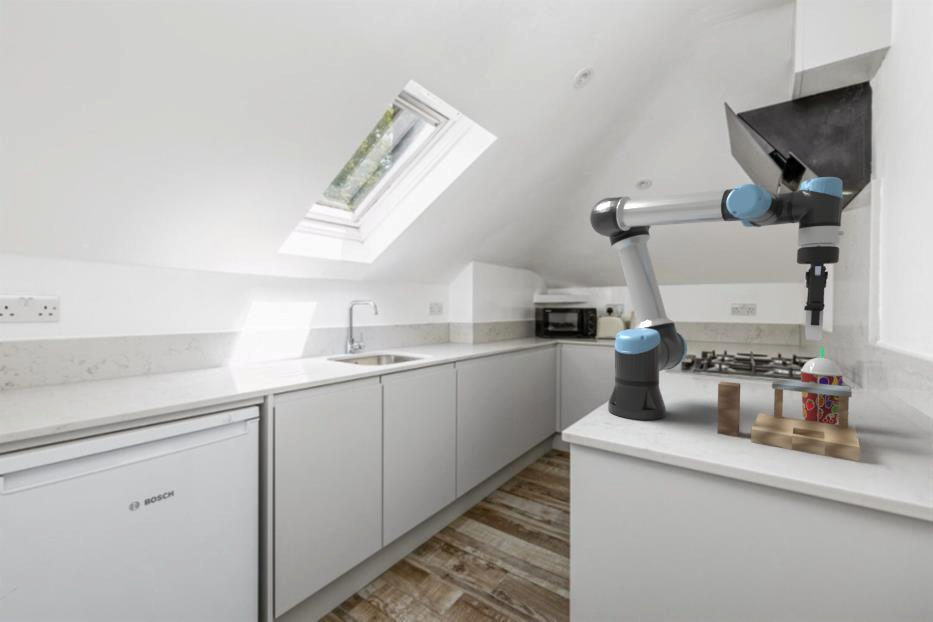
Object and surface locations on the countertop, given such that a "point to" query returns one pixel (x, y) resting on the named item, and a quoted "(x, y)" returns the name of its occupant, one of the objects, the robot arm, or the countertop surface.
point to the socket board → (808, 425)
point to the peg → (728, 408)
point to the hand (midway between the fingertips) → (812, 337)
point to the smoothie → (821, 404)
